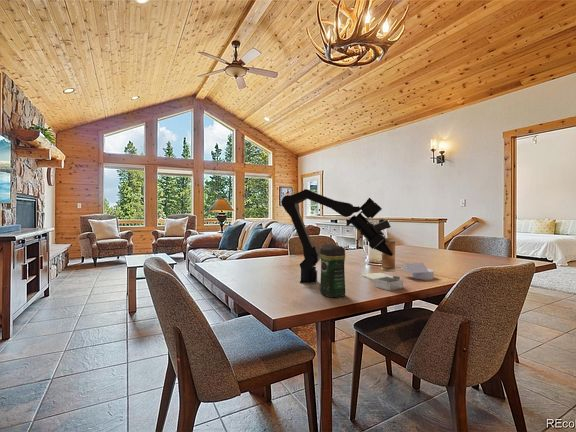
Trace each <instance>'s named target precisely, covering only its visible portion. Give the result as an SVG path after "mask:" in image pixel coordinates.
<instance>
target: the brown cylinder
mask: <svg viewBox="0 0 576 432" xmlns="http://www.w3.org/2000/svg"><path fill="white" fill-rule="evenodd" d="M396 242H397V238H395V237H385V243H386V245H387V246H388V248H389V249H390V250H391V252H392V253H393V255H392V256H389V255H387V254H385V253H383V252H381V267H380V271H382V272H386V273H395V272H396V270H397V268H396Z"/></svg>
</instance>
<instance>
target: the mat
mask: <svg viewBox="0 0 576 432" xmlns="http://www.w3.org/2000/svg"><path fill="white" fill-rule="evenodd" d="M360 276H361V277H363V278H366V279H368V280H370V281H373V282H374V279H376V278H381V277H386V276H387V277H392V278H393V276H392V275H389V274H386V273H383V272H374V273H366V274H365V273H364V274H360Z"/></svg>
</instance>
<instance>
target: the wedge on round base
mask: <svg viewBox="0 0 576 432" xmlns="http://www.w3.org/2000/svg"><path fill="white" fill-rule="evenodd" d="M400 270H402V271H405V272H408V273H411V277H412V279H413V278H414V279H418V280H427V281H428V280H429V281H430V280H434V273H435V271H434V270H433V269H432V268H431V269H430V268H427V267H426V265H425V264H424V262H413V263H410V262H409V263H404V265H402V267H401V268H400Z"/></svg>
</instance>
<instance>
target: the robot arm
mask: <svg viewBox="0 0 576 432" xmlns="http://www.w3.org/2000/svg"><path fill="white" fill-rule="evenodd" d="M306 200H309V201H312V202H314V203H317V204H320V205H322V206H324V207H326V208H330V209H331V210H333V211H334V212H336V213H337V214H339V215H340V216H341V217H345V218H349V217H350V218H349V219H346V220H345V222H346V227H349V226H350V225H352V226H353V227H354V228H355V230H357V231H358V232H359V234H360V235H361V236H363V237H364V238H365V239H366V240H367V242H368V246H369V248H371V249H372V250H376V251H378V252H381V253H382V252H383V253H385V254H387V255H389V256H392V255H393V253H392V252H391V250H390V249H389V248H388V246H387V245H386V243H385V238H386V236H385V234H384V232H383V231H384V230H386V229H390V228H392V226H391V224H390V222H389V220H388V219H384V218H381V219H379V220H378V223H376V224H374V223H372V222H370V221H369V220H368V219H370V218H371V219H373V218H375V216H377V215H378V214H379V212H381V211H382V210H383V208H382V207H381V206H380V205H379V204H378V203H376V202H375V201H374V200H373V199H372V198H370V197H368V199H367V200H366V201H365V202H364V203H363V204H362V205H361V206H354V205H353V204H352V203H349V202H344V201H340V200H335V199H332V198H329V197H328V196H324V195H322V194H319V193H317V192H314V191H312V190H311V189H307V188H306V189H303V190H301V191H298V192H296V193H293V194H291V195H290V194H289V195H288V194H287V195H284V196H283V197H282V199H281V201H280V203H281V206H282V208H283V209H284V210H285V212H286V213H287V214H288V215H289V216H290V219H291V221H292V224H293V226H294V228H295V229H294V230H295V231H296V233H297V235H298V238H299V241H300V243H301V245H302V253H303V258H304V260H302V261H301V262H300V263H299V267H300V281H299V283H301V284H302V283H303V284H304V283H305V284H316V282H317V281H318V270H317V266H316V265H317V264H318V262H319V261H321V258H320V248H319V245H318V244H316V245H314V243H313V241H312V240H311V237H310V235H309V232H308V230H307V228H306V225H305V222H304V220H303V217H302V216H301V214H300V205H299V204H300V203H302V202H304V201H306ZM356 213H358V214H356ZM355 214H356V215H355Z"/></svg>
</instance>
